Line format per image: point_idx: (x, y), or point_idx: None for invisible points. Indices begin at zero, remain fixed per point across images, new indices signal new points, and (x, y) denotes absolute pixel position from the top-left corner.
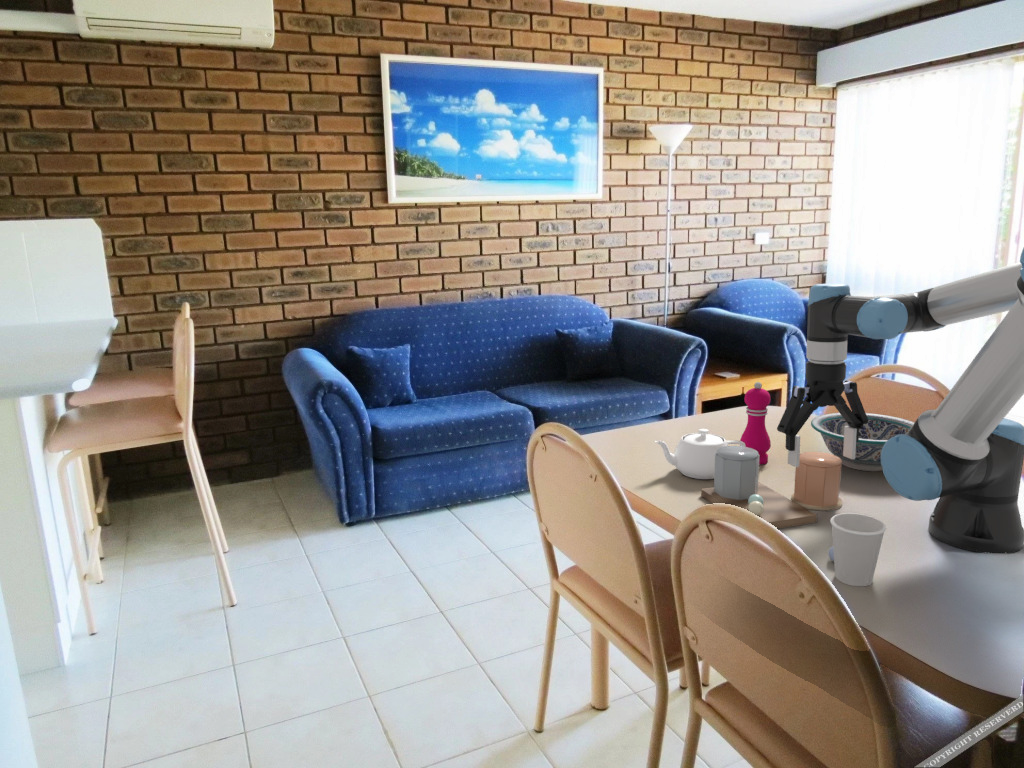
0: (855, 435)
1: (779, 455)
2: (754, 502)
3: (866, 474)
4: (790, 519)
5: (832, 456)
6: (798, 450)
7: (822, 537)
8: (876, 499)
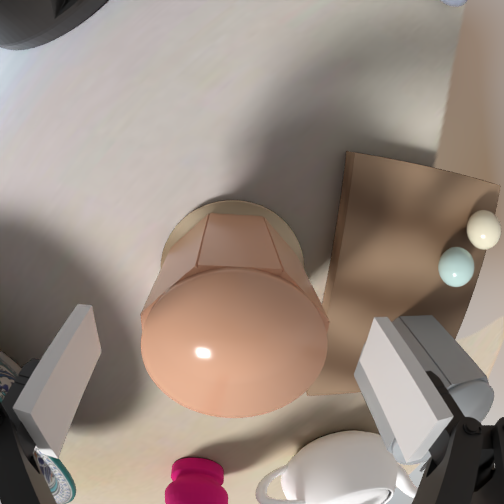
0: (33, 381)
1: (134, 467)
2: (499, 235)
3: (16, 346)
4: (430, 167)
5: (162, 353)
6: (411, 364)
7: (396, 77)
8: (66, 218)
